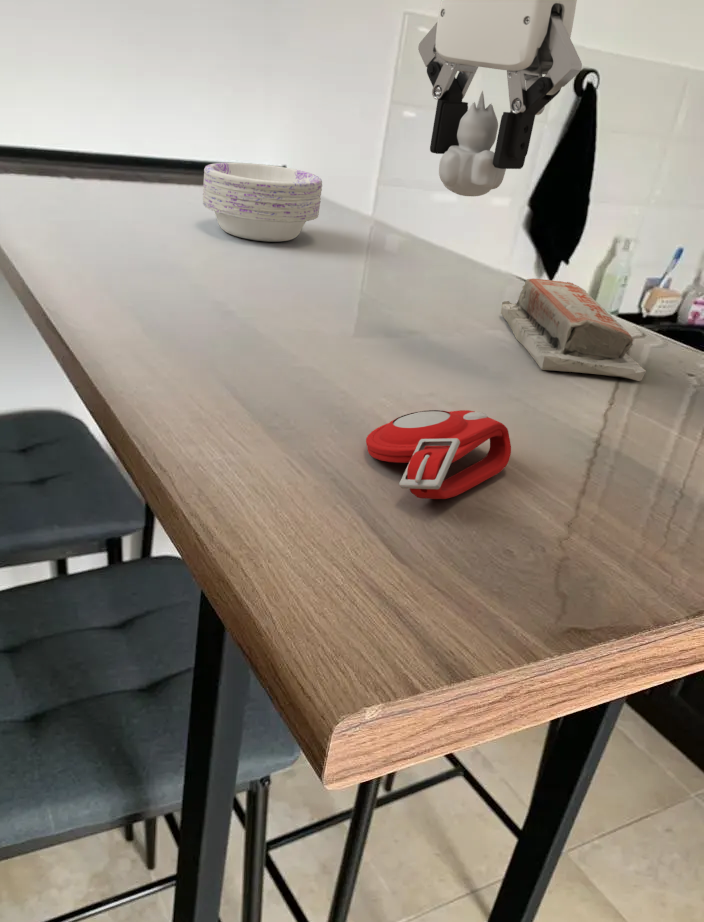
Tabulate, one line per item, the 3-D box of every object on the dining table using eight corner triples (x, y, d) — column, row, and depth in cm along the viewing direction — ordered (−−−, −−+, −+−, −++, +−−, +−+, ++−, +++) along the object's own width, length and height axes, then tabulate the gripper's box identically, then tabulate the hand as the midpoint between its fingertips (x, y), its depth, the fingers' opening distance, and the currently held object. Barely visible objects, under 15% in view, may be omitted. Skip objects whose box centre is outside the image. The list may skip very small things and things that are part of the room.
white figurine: (480, 191, 75) (499, 91, 72) (514, 207, 70) (537, 98, 66) (423, 187, 74) (440, 84, 70) (454, 202, 68) (474, 91, 65)
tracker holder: (341, 418, 60) (469, 386, 63) (351, 477, 62) (476, 444, 64) (408, 459, 49) (561, 418, 52) (418, 530, 51) (566, 487, 53)
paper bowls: (192, 216, 118) (195, 155, 114) (298, 225, 122) (305, 165, 119) (211, 244, 105) (216, 176, 101) (329, 252, 110) (338, 187, 106)
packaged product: (507, 270, 92) (596, 281, 93) (496, 314, 95) (583, 325, 96) (553, 320, 77) (659, 334, 78) (539, 372, 79) (643, 384, 80)
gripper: (659, -99, 59) (589, 180, 67) (469, -96, 70) (430, 144, 78) (596, -122, 54) (530, 181, 63) (403, -114, 65) (370, 142, 74)
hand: (475, 158), depth 70 cm, fingers closed on white figurine, 6 cm apart
